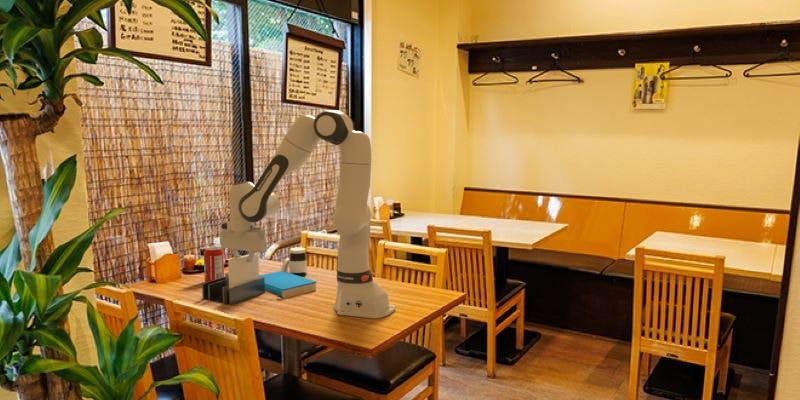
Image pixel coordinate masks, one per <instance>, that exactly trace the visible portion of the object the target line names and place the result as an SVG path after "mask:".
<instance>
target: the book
mask: <svg viewBox="0 0 800 400" xmlns="http://www.w3.org/2000/svg"><path fill="white" fill-rule="evenodd" d="M263 277H264V280H265V290H266V291H268V292H271V293H274V294H276V295H277V297H278V298H281V299H285V298H289V297H293V296H297V295H302V294H304V293H305V294H306V293H309V292H314V291H317V283H318V282H317V281H315V280H313V279H310V278H307V277H303V276H297V275H294V274H291V273H290V272H288V271H287V272H285V271H281V270H279V271H275V272H270V273H265V274H259V279H260V278H263Z"/></svg>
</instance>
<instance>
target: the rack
mask: <svg viewBox="0 0 800 400" xmlns="http://www.w3.org/2000/svg"><path fill="white" fill-rule="evenodd" d="M201 291H202V292H201V293H202V298H201V300H204V301H208V302H214V303H218V304H222V305H223V304H224V305H228V306H235V305H237V304H240V303H241V302H242V303H243V302H245V301H248V300H250V299H253V298H256V297H259V296H261V295H265V294H266V291H265V280H264V277H263V278H260V279H257V280H254V281H251V282H248V283H245V284H242V285H239V286H236V287H233V288H230V289H229V271H228V272H224V277H222V278H219V279H216V280H212V281H209V282H203V283H201Z"/></svg>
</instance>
